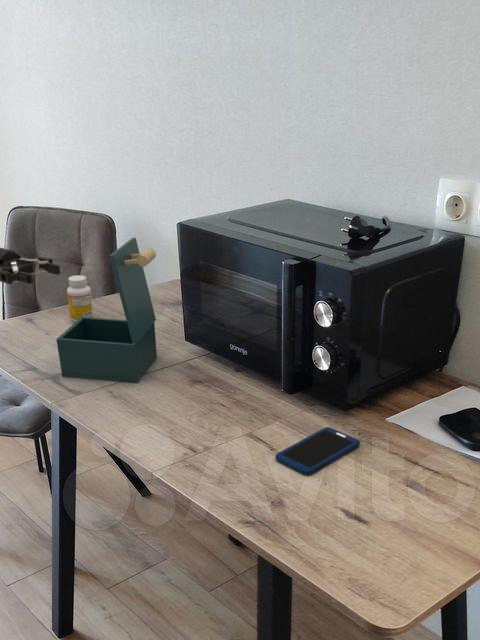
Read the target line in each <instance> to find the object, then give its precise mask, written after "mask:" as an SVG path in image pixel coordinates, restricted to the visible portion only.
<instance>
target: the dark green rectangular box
mask: <svg viewBox="0 0 480 640" xmlns="http://www.w3.org/2000/svg"><path fill="white" fill-rule="evenodd" d="M55 340H56V346H57V352H58V359H59V364H60V371H61V377H63V378H74V379H75V378H76V379H86V380H87V379H88V380H99V381H110V382H120V383H121V382H122V383H133V384H139V382H141V380H142V378H143V377H144V376H145V375H146V374H147V372H148V371H149V369H150V368H151V367H152V365H153V364H154V363H155V361H156V360H157V358H158V352H157V340H156V327H155V322H154V323H153V324H152V325H151V326H150V327H149V329H148V330H147V331H146V332H145V333H144V334H143V336H142V337H141V338H140V339H139V340H138V342H137V343H132V339H131V335H130V331H129V328H128V324H127V320H126V319H116V318H104V317H102V318H101V317H94V318H91V317H81V318H80V319H78V320H77V321H76V322H74V323H73V324H72V325H70V327H68V328H67V329H66V330H65V331H64V332H63V333H62V334H61V335H59V336H58V337H57V338H56V339H55Z"/></svg>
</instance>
